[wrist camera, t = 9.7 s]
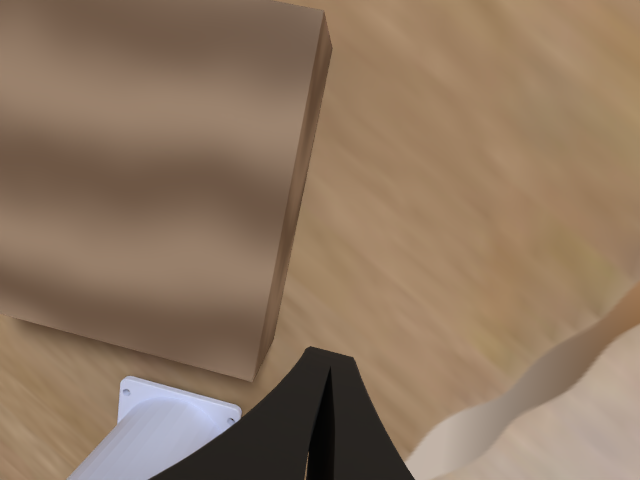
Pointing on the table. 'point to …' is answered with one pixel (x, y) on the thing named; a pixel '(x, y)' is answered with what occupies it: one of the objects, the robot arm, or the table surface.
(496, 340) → the table surface
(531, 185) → the table surface
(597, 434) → the table surface
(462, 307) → the table surface
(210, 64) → the plate
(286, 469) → the robot arm
